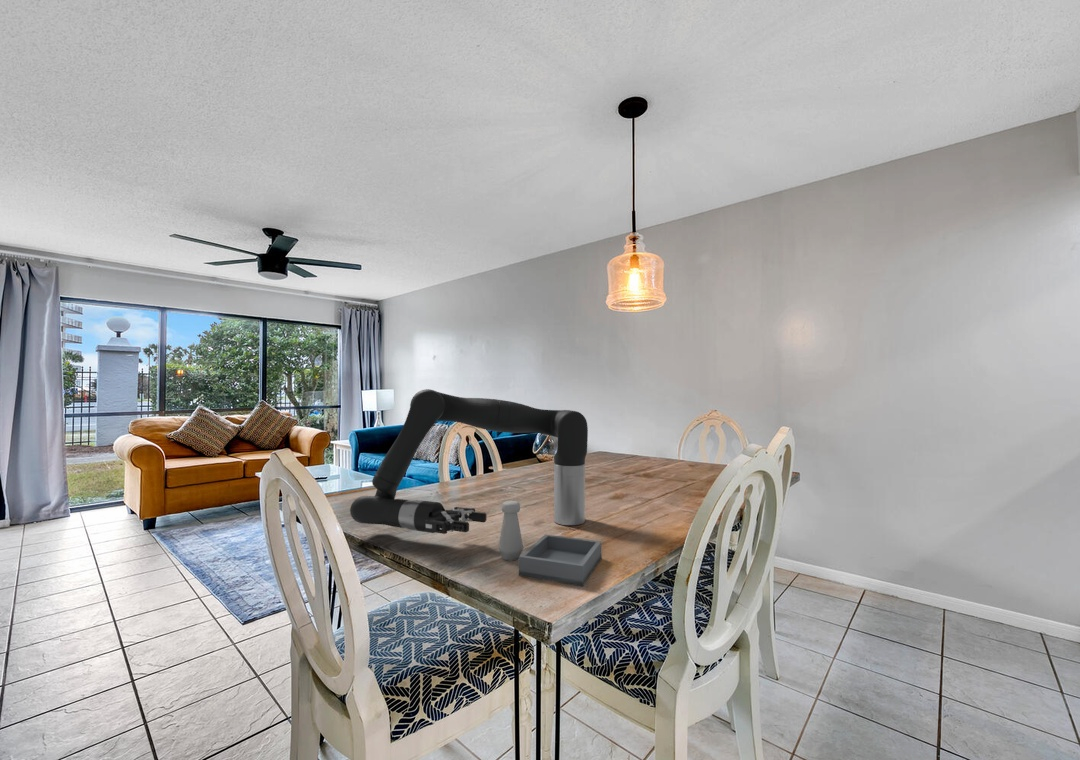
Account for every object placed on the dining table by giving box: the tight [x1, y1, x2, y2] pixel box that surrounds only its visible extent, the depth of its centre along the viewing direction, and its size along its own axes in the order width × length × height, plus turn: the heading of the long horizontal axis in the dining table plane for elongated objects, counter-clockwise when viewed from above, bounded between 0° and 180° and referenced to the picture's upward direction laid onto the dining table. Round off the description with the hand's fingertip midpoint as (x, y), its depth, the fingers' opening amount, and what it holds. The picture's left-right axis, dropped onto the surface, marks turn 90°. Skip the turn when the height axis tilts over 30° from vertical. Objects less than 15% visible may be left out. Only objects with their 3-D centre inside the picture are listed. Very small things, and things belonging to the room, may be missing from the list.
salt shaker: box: [497, 500, 524, 561], centre depth 105 cm, size 6×6×13 cm
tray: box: [518, 533, 602, 587], centre depth 100 cm, size 16×14×4 cm
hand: (477, 522), depth 109 cm, fingers open, 8 cm apart
